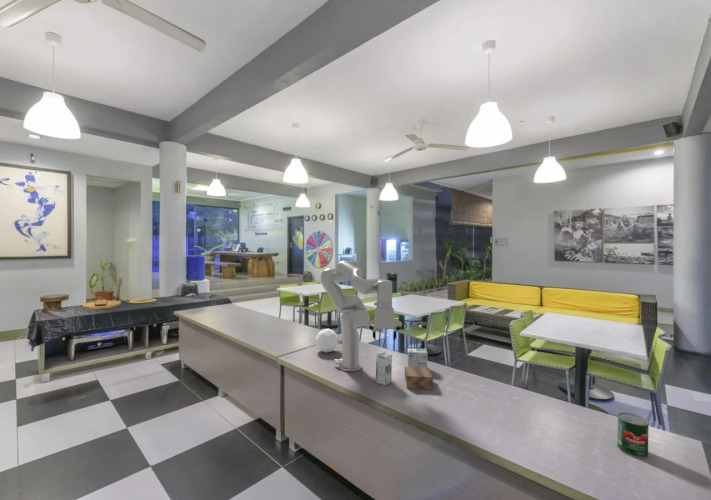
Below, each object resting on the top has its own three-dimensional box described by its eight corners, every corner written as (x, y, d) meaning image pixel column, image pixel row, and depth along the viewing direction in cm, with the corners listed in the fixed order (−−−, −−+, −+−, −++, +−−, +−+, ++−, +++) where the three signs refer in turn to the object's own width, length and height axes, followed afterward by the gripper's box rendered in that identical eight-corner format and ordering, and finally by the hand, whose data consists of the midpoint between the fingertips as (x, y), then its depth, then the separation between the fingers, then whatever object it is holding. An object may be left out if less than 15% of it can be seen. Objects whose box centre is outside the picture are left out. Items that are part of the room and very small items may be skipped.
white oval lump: (314, 351, 196) (346, 354, 198) (317, 326, 200) (348, 329, 203) (313, 351, 209) (343, 354, 212) (316, 327, 214) (345, 330, 217)
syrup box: (382, 379, 164) (382, 351, 164) (391, 382, 160) (392, 353, 160) (375, 382, 160) (375, 353, 160) (385, 386, 156) (385, 356, 156)
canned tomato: (633, 443, 112) (633, 412, 112) (655, 458, 104) (655, 424, 104) (611, 443, 112) (611, 412, 112) (631, 458, 104) (632, 425, 104)
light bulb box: (426, 367, 180) (426, 348, 180) (427, 372, 174) (427, 352, 173) (407, 366, 181) (407, 347, 181) (407, 371, 175) (407, 351, 174)
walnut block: (407, 388, 153) (407, 376, 153) (404, 378, 165) (404, 366, 165) (432, 389, 153) (432, 377, 153) (428, 379, 165) (428, 367, 165)
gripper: (367, 306, 156) (366, 341, 156) (402, 306, 155) (402, 341, 155) (367, 303, 164) (367, 337, 164) (401, 303, 163) (401, 337, 163)
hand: (384, 339), depth 160 cm, fingers open, 9 cm apart
